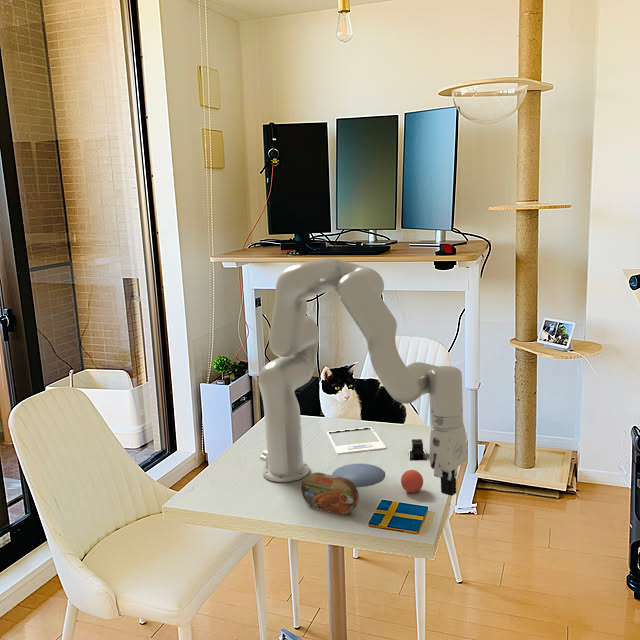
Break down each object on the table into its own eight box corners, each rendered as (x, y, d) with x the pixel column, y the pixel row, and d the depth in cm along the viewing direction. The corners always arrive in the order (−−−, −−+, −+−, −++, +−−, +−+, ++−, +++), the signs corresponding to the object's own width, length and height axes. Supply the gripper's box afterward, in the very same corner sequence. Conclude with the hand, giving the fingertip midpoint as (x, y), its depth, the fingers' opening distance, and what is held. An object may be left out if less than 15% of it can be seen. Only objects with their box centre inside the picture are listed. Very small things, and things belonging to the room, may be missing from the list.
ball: (396, 492, 162) (396, 471, 161) (409, 484, 166) (408, 464, 165) (415, 498, 158) (415, 477, 157) (427, 490, 162) (427, 469, 161)
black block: (432, 465, 178) (432, 449, 177) (405, 466, 179) (405, 450, 178) (427, 448, 190) (427, 433, 189) (402, 448, 191) (402, 434, 190)
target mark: (321, 477, 172) (321, 477, 172) (354, 460, 183) (353, 459, 183) (363, 491, 163) (363, 490, 163) (395, 472, 173) (395, 471, 173)
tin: (301, 504, 158) (299, 472, 157) (308, 499, 161) (306, 467, 159) (354, 519, 150) (352, 485, 148) (361, 513, 152) (359, 479, 151)
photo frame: (337, 452, 187) (326, 431, 205) (337, 456, 188) (326, 434, 205) (386, 446, 190) (371, 426, 207) (386, 450, 190) (371, 429, 207)
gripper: (444, 432, 143) (446, 509, 147) (476, 413, 154) (478, 485, 158) (415, 426, 148) (418, 501, 152) (448, 408, 159) (450, 478, 163)
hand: (448, 493), depth 155 cm, fingers closed
